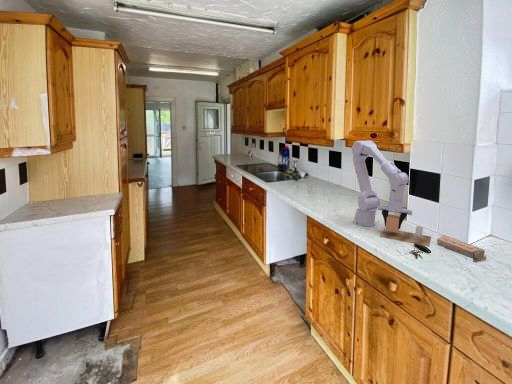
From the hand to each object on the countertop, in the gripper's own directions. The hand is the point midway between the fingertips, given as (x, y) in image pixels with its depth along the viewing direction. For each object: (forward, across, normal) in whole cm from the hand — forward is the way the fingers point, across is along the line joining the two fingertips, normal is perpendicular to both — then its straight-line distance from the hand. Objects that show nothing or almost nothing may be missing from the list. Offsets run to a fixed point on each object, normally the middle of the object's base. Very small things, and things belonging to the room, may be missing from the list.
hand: (392, 227), depth 143 cm
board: (+5, +6, 0) cm, 8 cm away
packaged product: (+5, +26, -3) cm, 27 cm away
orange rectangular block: (+1, 0, 0) cm, 1 cm away
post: (+3, +11, 0) cm, 12 cm away
